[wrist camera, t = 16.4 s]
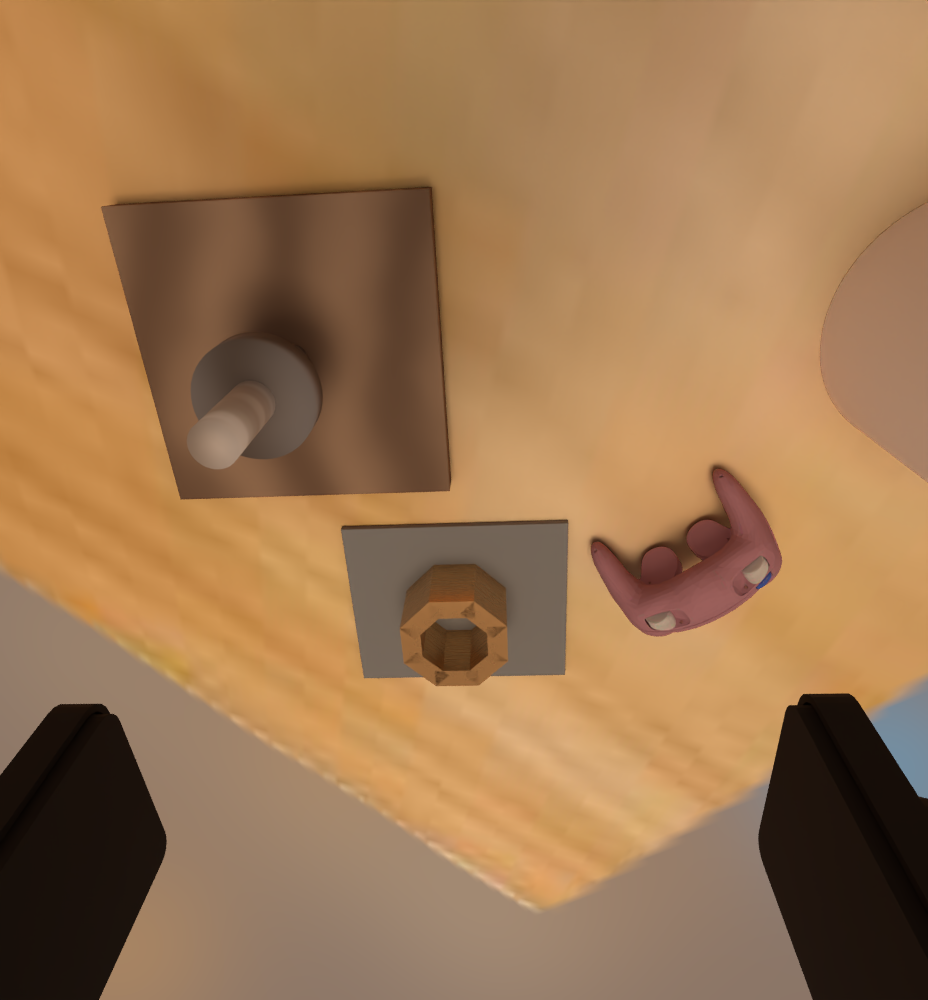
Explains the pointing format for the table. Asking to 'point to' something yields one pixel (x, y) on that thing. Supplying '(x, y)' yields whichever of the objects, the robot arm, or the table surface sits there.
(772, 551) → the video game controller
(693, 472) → the table surface
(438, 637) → the wooden ring
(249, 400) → the post stand
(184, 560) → the table surface
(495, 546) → the rubber mat
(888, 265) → the canister
